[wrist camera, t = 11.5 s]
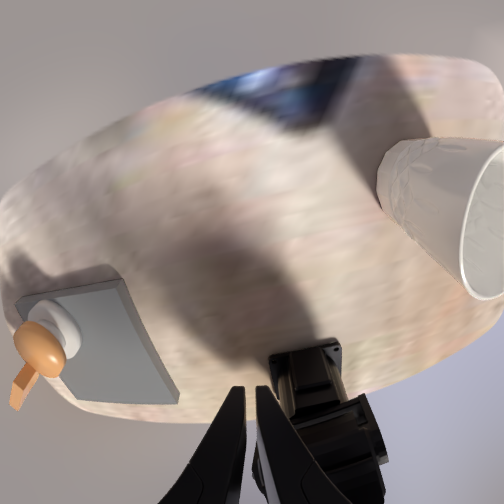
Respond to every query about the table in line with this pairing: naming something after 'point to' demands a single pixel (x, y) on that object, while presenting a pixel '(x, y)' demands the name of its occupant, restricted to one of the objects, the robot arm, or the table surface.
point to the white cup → (450, 205)
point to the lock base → (102, 344)
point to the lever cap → (35, 359)
